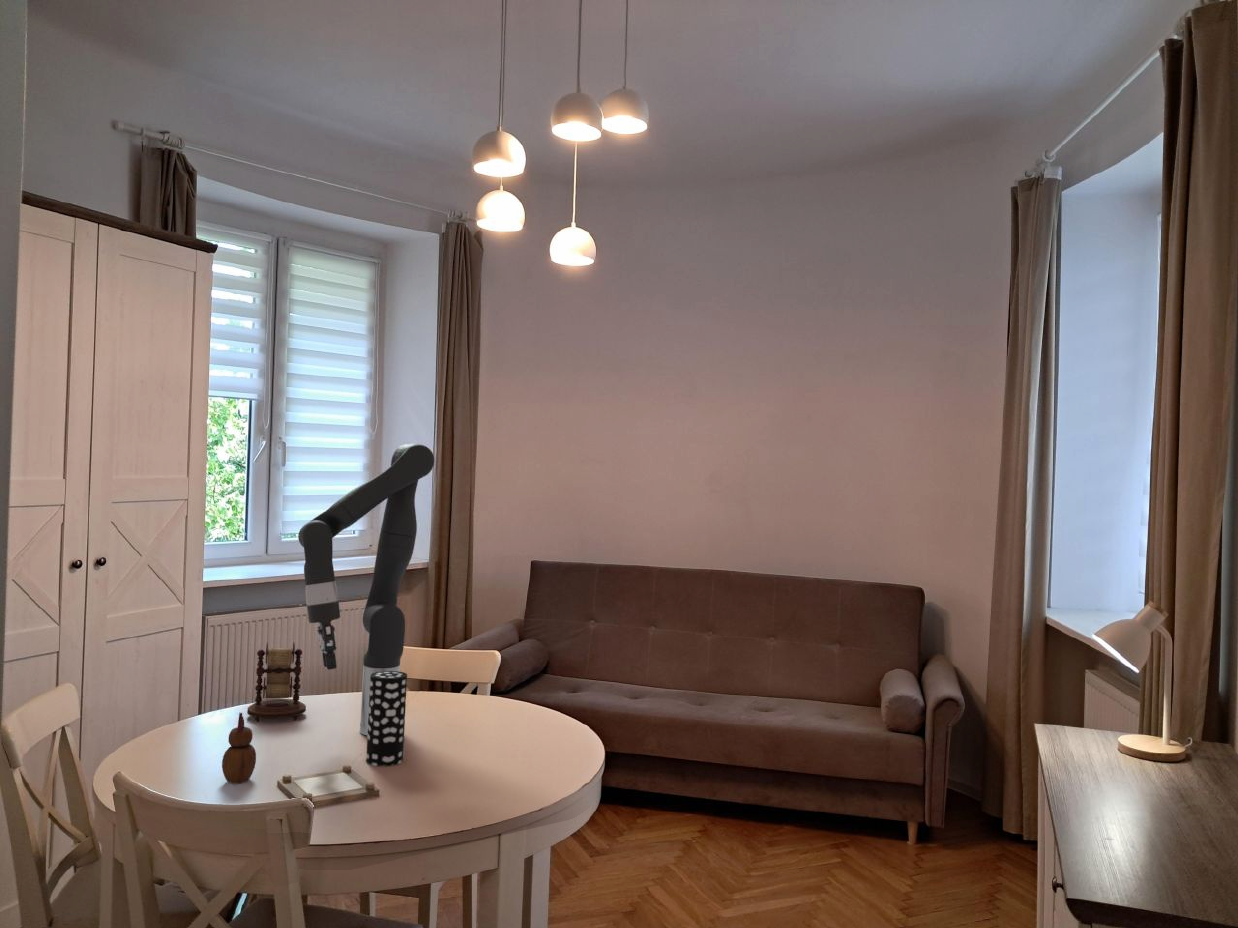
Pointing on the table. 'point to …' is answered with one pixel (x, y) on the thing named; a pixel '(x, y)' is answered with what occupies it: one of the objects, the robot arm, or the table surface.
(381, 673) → the spotted tube
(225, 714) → the table surface
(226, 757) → the wooden figurine
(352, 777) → the base plate
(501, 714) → the table surface
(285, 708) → the scroll
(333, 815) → the table surface
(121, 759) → the table surface
